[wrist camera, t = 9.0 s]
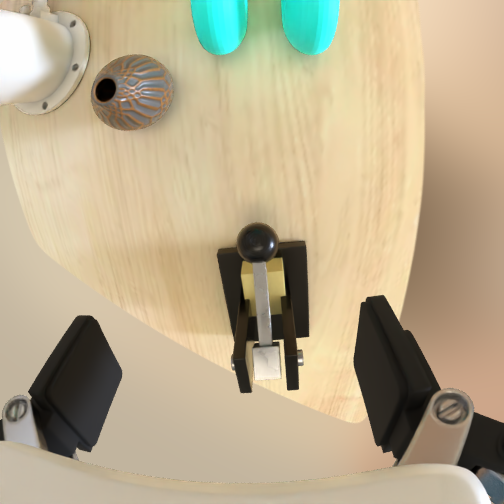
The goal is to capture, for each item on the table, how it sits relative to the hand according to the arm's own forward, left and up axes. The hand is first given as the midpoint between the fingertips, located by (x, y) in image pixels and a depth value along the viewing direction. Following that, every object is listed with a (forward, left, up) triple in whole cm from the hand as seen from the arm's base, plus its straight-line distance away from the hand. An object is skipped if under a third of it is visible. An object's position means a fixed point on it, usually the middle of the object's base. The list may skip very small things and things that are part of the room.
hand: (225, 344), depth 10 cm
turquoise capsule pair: (-17, +3, -22) cm, 28 cm away
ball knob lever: (+9, 0, -15) cm, 17 cm away
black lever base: (+12, 0, -21) cm, 24 cm away
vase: (-11, -9, -22) cm, 26 cm away
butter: (+10, 0, -20) cm, 22 cm away
